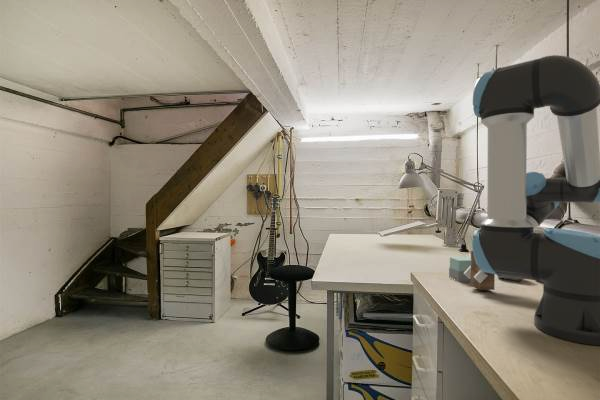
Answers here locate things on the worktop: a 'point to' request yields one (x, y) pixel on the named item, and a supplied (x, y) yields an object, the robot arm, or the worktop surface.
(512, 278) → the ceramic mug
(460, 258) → the tower mid
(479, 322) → the worktop surface
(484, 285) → the walnut post
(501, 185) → the robot arm
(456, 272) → the tower base
